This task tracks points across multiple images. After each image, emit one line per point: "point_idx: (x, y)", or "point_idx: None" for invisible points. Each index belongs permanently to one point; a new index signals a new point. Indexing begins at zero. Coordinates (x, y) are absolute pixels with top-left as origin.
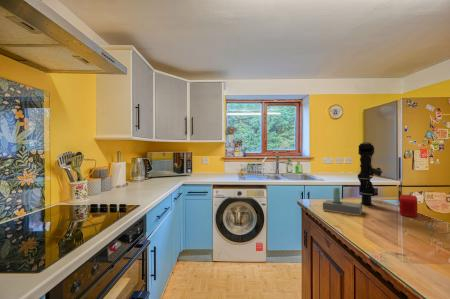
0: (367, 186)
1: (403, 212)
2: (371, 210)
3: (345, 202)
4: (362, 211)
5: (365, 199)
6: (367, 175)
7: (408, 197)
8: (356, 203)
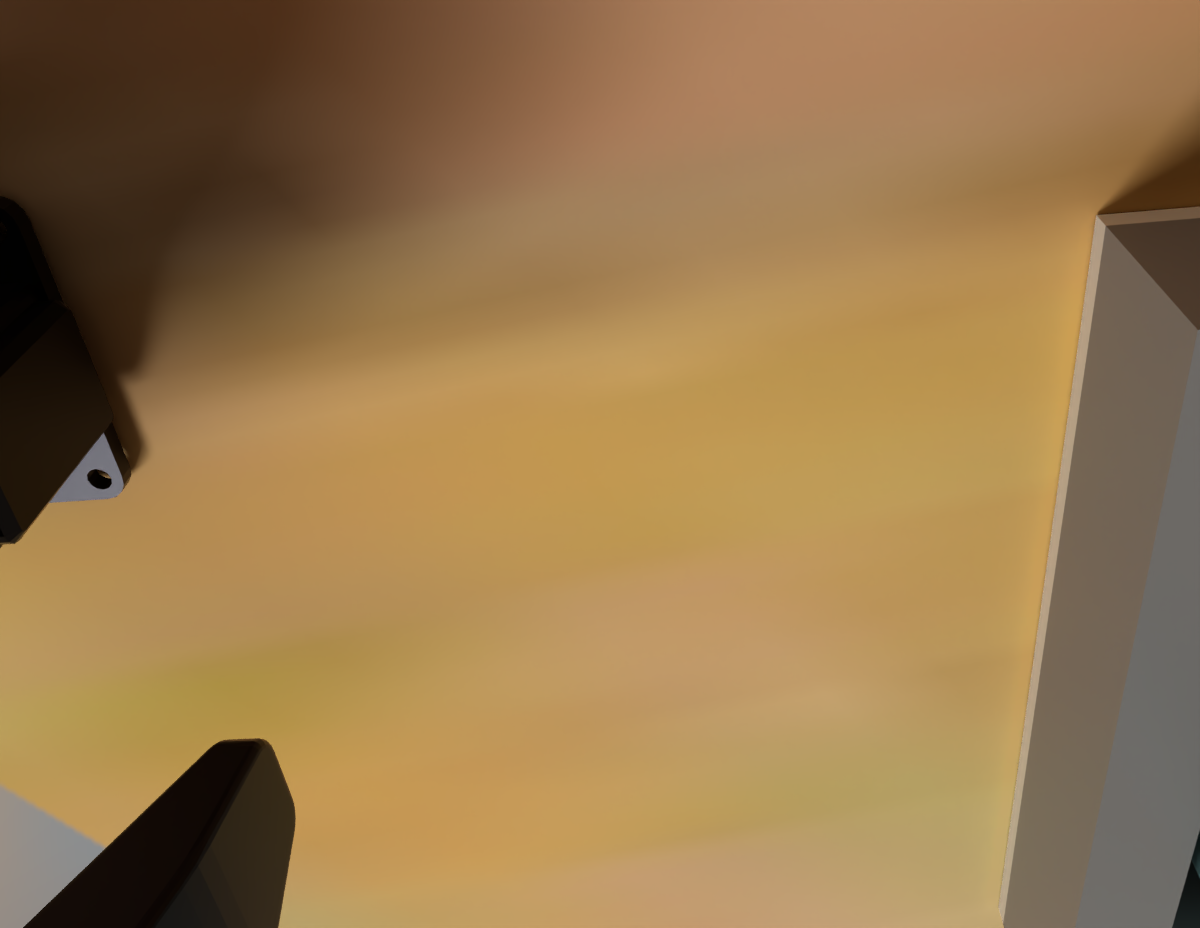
0: (243, 837)
1: None
2: (721, 26)
3: (1168, 758)
4: (1106, 217)
5: (15, 453)
6: None
7: None
8: (1166, 507)
